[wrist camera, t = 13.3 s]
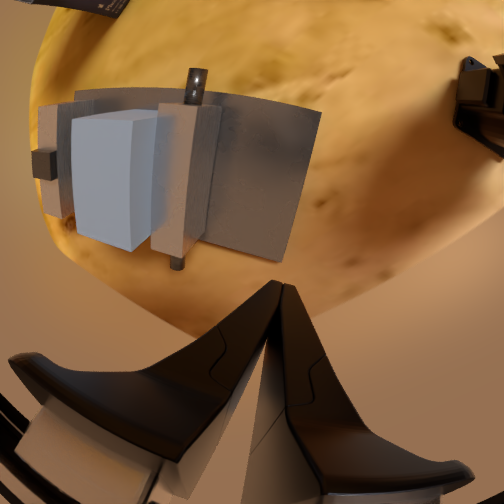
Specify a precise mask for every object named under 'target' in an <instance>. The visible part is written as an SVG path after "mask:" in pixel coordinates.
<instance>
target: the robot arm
mask: <svg viewBox="0 0 504 504" xmlns="http://www.w3.org/2000/svg"><path fill="white" fill-rule="evenodd" d="M493 58H494V60H495V63H496V64H498V66H499V69H490V68H487V67H486V66H484V65H483V64H481V63H480V62H478V61H477V60H475V59H474V58H472V57H470V56H468V57H465V59H464V65H463V72H461V73H460V79H459V85H458V90H457V96H456V101H457V105H456V109H455V114H454V118H453V125H454V127H455V128H456V129H458V130H460V131H461V132H463V133H465V134H466V135H468V136H470V137H471V138H473V139H475V140H476V141H478V142H479V143H481V144H482V145H484V146H485V147H487V148H488V149H490V150H491V151H493V152H494V153H496V154H497V155H499V156H500V157H501V158H503V159H504V54H499V55H495V56H493ZM469 60H470V61H471V63H472V65H471V64H470V63H469ZM458 121H460V123H461V124H460V126H459V125H458ZM266 340H267V341H266ZM265 343H266V347H265V354H264V361H263V368H262V375H261V382H260V389H259V396H258V403H257V410H256V416H255V423H254V430H253V435H252V441H251V448H250V454H249V455H250V456H249V459H248V465H247V472H246V477H245V483H244V488H243V494H242V499H241V504H443V495H445V494H447V493H449V492H452V491H454V490H456V489H458V488H461V487H463V486H465V485H467V484H468V483H470V482H472V481H473V480H474V479H475V475H474V473H473V472H472V470H471V469H470V468H469V467H468V466H466V465H465V464H463V463H462V462H460V461H457V460H451V461H445V462H435V461H430V460H427V459H424V458H421V457H419V456H417V455H415V454H413V453H410V452H409V451H407V450H405V449H403V448H400V447H399V446H397V445H394V444H393V443H391V442H389V441H387V440H385V439H383V438H381V437H379V436H377V435H376V434H374V433H373V432H372V431H371V430H370V429H369V428H368V427H367V426H366V425H365V424H364V422H363V421H362V419H361V417H360V416H359V414H358V412H357V411H356V409H355V407H354V406H353V404H352V402H351V401H350V399H349V397H348V396H347V394H346V392H345V391H344V389H343V387H342V385H341V384H340V382H339V380H338V378H337V376H336V375H335V372H334V370H333V368H332V366H331V364H330V362H329V359H328V357H327V356H326V353H325V351H324V348H323V346H322V344H321V342H320V339H319V337H318V335H317V333H316V331H315V329H314V326H313V324H312V322H311V319H310V317H309V315H308V313H307V311H306V309H305V306H304V304H303V302H302V300H301V298H300V296H299V294H298V291H297V289H296V287H295V286H293V285H290V284H286V283H284V284H282V282H279V281H275V280H270V281H269V282H268V283H267V284H266V285H264V286H263V287H262V288H261V289H260V290H258V291H257V292H256V293H255V294H254V295H252V296H251V297H250V298H249V299H247V300H246V301H245V302H244V303H243V304H241V305H240V306H239V307H238V308H237V309H235V310H234V311H233V312H232V313H230V314H229V315H228V316H227V317H225V318H224V319H223V320H222V321H220V322H219V323H218V324H217V325H216V326H214V327H213V328H212V329H210V330H209V331H208V332H207V333H205V334H204V335H202V336H201V337H200V338H198V339H197V340H195V341H194V342H192V343H190V344H189V345H187V346H186V347H184V348H182V349H181V350H179V351H177V352H175V353H173V354H172V355H170V356H168V357H166V358H164V359H163V360H161V361H159V362H157V363H155V364H154V365H152V366H150V367H147V368H145V369H142V370H138V371H132V372H89V371H74V370H70V369H66V368H63V367H60V366H58V365H57V364H55V363H53V362H52V361H51V360H49V359H48V358H46V357H45V356H43V355H42V354H40V353H37V352H31V353H20V354H16V355H14V356H12V357H10V358H9V359H8V362H9V364H10V366H11V368H12V369H13V371H14V372H15V374H16V375H17V376H18V377H19V379H20V380H21V381H22V383H23V384H24V385H25V386H26V388H27V389H28V390H29V391H30V393H31V394H32V395H33V396H34V397H35V398H36V399H37V400H38V402H39V403H40V404H41V405H42V406H41V407H40V409H39V410H38V411H37V413H36V414H35V416H34V418H33V419H32V420H31V422H30V421H29V420H28V419H27V418H25V417H24V416H23V415H22V414H21V413H20V412H19V411H18V410H17V409H16V408H15V407H13V406H12V404H11V403H10V402H9V401H8V400H7V399H6V398H5V397H4V396H2V394H1V393H0V494H1V495H2V496H3V497H4V498H5V499H6V500H7V501H8V502H9V503H10V504H169V503H170V501H171V499H172V496H173V495H176V496H178V497H181V498H184V499H187V500H188V499H189V497H190V495H191V493H192V492H193V490H194V488H195V486H196V484H197V483H198V481H199V479H200V477H201V475H202V473H203V472H204V470H205V468H206V466H207V464H208V462H209V460H210V458H211V456H212V454H213V453H214V451H215V449H216V446H217V445H218V443H219V441H220V439H221V437H222V435H223V433H224V431H225V429H226V427H227V425H228V423H229V421H230V419H231V417H232V414H233V413H234V411H235V409H236V406H237V404H238V402H239V400H240V398H241V396H242V394H243V392H244V390H245V387H246V385H247V383H248V381H249V379H250V377H251V374H252V372H253V370H254V368H255V366H256V363H257V361H258V359H259V357H260V354H261V352H262V350H263V348H264V345H265ZM477 504H504V491H503V492H501V493H499V494H497V495H495V496H493V497H490V498H488V499H486V500H484V501H482V502H480V503H477Z"/></svg>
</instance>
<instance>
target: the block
mask: <svg viewBox="0 0 504 504" xmlns="http://www.w3.org/2000/svg"><path fill="white" fill-rule="evenodd" d="M157 115H158V111H157V110H140V109H133V110H124V111H116V112H109V113H103V114H96V115H91V116H85V117H80V118H75V119H72V130H71V163H72V185H73V198H74V209H75V218H76V226H77V233H78V234H81V235H84V236H87V237H89V238H92V239H95V240H98V241H101V242H103V243H106V244H109V245H112V246H115V247H118V248H121V249H123V250H126V251H129V252H132V251H133V250H134V249H136V248H137V247H138V246H139V245H140V244H141V243H142V242H143V241H144V240H146V239H147V238H148V237H149V236H150V235H151V191H152V171H153V156H154V144H155V134H156V124H157Z"/></svg>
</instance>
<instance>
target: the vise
mask: <svg viewBox="0 0 504 504" xmlns="http://www.w3.org/2000/svg"><path fill="white" fill-rule="evenodd" d="M184 95H185V89H176V88H105V89H91V90H80V91H75V96H74V101H69V102H63V103H57V104H51V105H45V106H40V107H39V109H38V149H36V150H34V151H31V153H32V170H33V177H34V178H38V179H40V186H41V195H42V203H43V210H44V213H46V214H49V215H52V216H55V217H58V218H61V219H63V218H65V217H66V216H68V215H70V214H71V213H73V212H74V211H75V209H74V198H73V185H72V163H71V130H72V119H75V118H80V117H85V116H91V115H96V114H103V113H109V112H116V111H124V110H133V109H140V110H157V111H158V107H159V103H183V101H184ZM202 104H208V105H216V106H223V109H222V115H221V120H220V126H219V132H218V138H217V145H216V151H215V158H214V165H213V171H212V179H211V186H210V193H209V201H208V209H207V217H206V225H205V232H204V233H203V234H202V235H201V236H200V238H199V240H202V241H206V242H209V243H213V244H217V245H220V246H224V247H227V248H231V249H234V250H238V251H242V252H245V253H249V254H252V255H256V256H259V257H263V258H267V259H270V260H274V261H277V262H281V263H282V260H283V256H284V253H285V250H286V246H287V243H288V239H289V236H290V232H291V228H292V225H293V221H294V218H295V214H296V211H297V207H298V203H299V200H300V196H301V192H302V188H303V185H304V181H305V177H306V173H307V169H308V166H309V162H310V158H311V154H312V150H313V146H314V142H315V138H316V134H317V130H318V126H319V122H320V118H321V113H322V112H318V111H314V110H310V109H306V108H302V107H298V106H294V105H290V104H285V103H281V102H276V101H271V100H266V99H260V98H254V97H249V96H242V95H236V94H228V93H221V92H212V91H204V96H203V102H202Z"/></svg>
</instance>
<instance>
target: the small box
mask: <svg viewBox="0 0 504 504" xmlns="http://www.w3.org/2000/svg"><path fill="white" fill-rule="evenodd" d="M16 1H21V2H25V3H28V4H40V5H49V6H57V7H64V8H71V9H76V10H82V11H87V12H91V13H96V14H100V15H104V16H108V17H112V18H117V17H118V16H119V15H120V13H121V12H122V10H123V9H124V7H125V6H126V4H127V3H128V1H129V0H16Z"/></svg>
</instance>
